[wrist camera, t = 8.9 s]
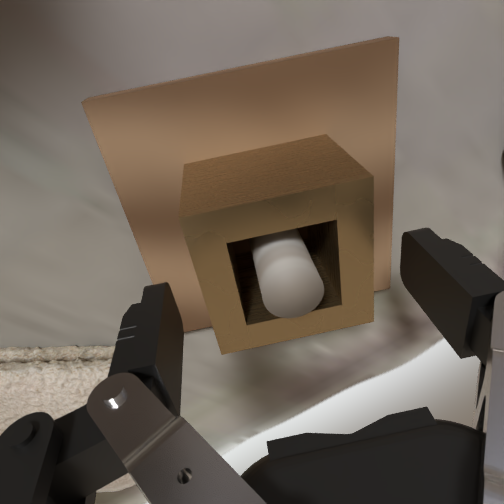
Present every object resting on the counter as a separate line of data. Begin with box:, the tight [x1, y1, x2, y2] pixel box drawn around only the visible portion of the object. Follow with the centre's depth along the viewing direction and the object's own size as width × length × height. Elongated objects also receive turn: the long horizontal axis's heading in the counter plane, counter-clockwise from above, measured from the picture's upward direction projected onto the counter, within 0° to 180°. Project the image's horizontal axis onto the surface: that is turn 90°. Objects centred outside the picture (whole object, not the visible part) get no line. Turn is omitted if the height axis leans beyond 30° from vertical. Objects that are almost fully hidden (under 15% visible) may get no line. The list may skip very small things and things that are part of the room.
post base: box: [81, 36, 399, 332], centre depth 15 cm, size 12×12×7 cm
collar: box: [178, 134, 374, 355], centre depth 15 cm, size 6×6×5 cm
